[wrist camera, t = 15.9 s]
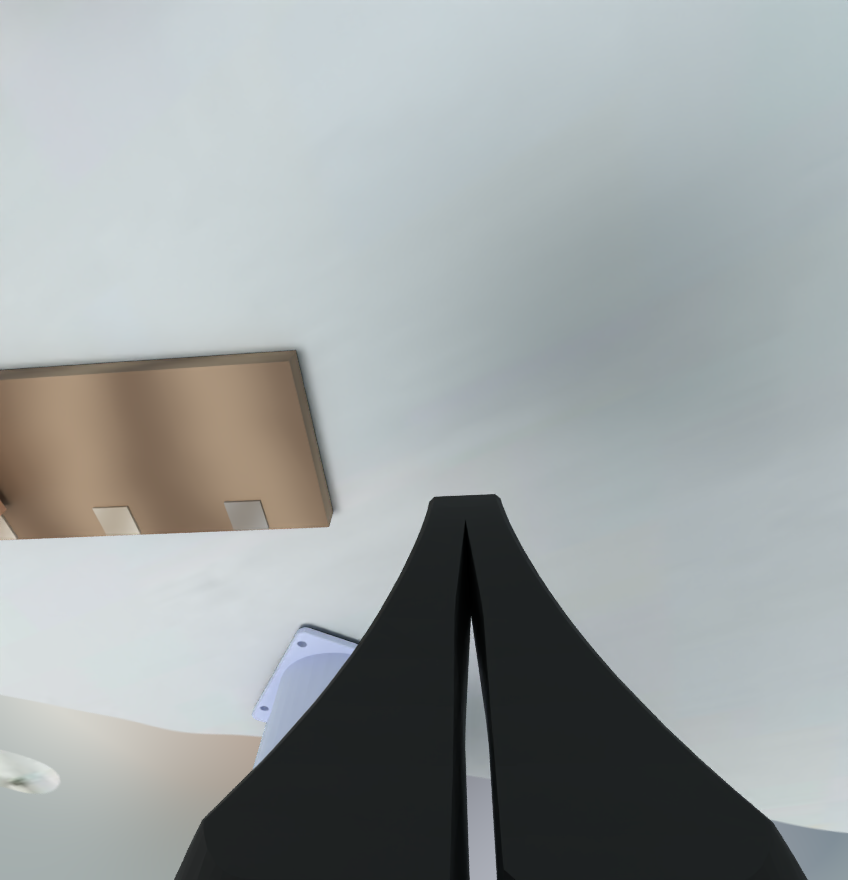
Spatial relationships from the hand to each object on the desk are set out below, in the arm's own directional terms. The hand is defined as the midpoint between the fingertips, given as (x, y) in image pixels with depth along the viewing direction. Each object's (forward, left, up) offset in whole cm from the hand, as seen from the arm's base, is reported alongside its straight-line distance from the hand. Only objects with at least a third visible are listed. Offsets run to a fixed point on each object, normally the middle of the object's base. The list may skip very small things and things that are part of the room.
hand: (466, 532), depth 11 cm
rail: (-13, +14, -10) cm, 22 cm away
